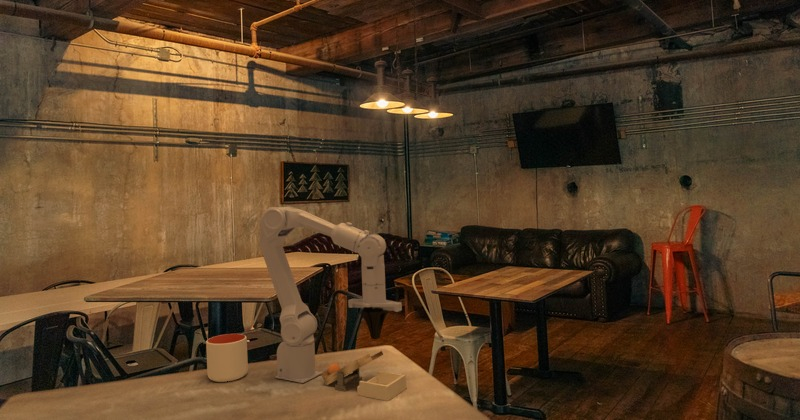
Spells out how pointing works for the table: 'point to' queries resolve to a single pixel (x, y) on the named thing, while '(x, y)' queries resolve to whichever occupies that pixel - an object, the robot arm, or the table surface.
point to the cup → (227, 357)
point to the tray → (382, 386)
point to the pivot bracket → (347, 380)
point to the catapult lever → (349, 367)
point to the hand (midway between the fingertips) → (375, 338)
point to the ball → (333, 368)
